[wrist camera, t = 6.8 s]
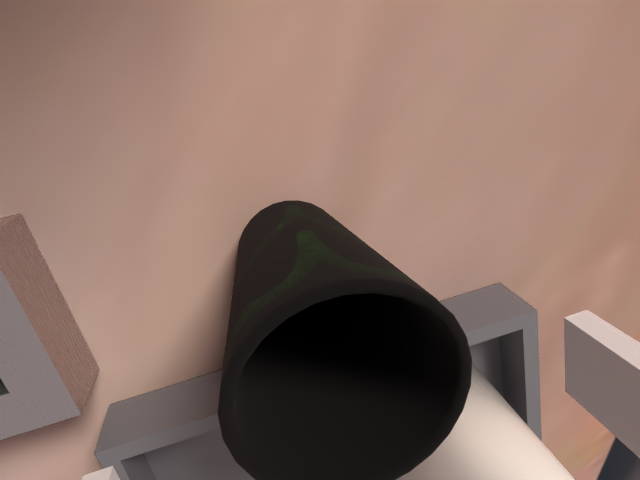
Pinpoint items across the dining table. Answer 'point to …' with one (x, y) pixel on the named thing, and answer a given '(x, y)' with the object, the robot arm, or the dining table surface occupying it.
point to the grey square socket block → (36, 340)
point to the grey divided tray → (203, 392)
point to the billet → (489, 444)
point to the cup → (334, 356)
